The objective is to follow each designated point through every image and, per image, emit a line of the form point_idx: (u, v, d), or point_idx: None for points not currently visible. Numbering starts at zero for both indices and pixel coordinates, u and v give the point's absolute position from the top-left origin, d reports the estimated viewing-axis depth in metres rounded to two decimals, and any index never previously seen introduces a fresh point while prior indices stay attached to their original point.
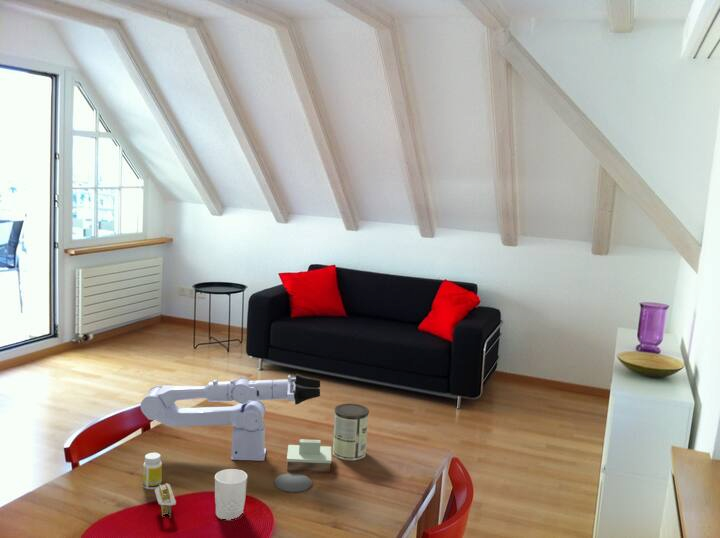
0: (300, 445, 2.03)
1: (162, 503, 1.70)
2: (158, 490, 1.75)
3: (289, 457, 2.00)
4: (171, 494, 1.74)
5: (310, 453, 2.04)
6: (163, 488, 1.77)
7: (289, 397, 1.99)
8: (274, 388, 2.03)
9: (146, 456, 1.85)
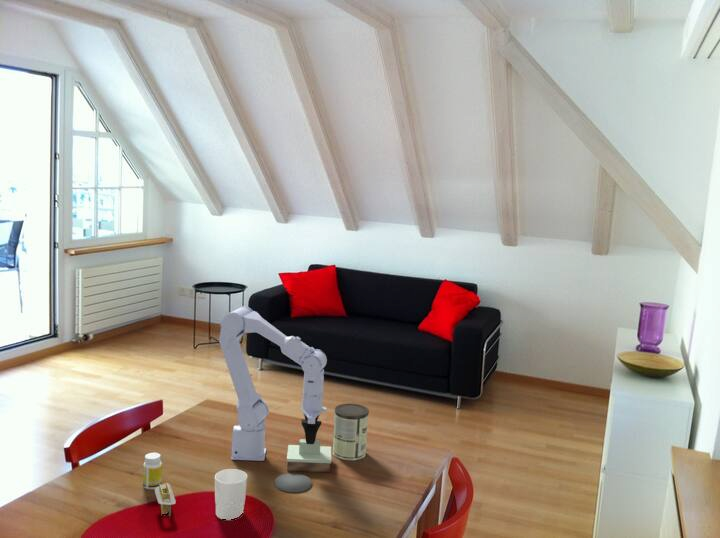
0: (300, 445, 2.03)
1: (162, 502, 1.70)
2: (158, 489, 1.76)
3: (289, 457, 2.00)
4: (171, 493, 1.74)
5: (310, 453, 2.04)
6: (163, 487, 1.77)
7: (312, 419, 1.95)
8: (317, 398, 1.99)
9: (146, 456, 1.85)
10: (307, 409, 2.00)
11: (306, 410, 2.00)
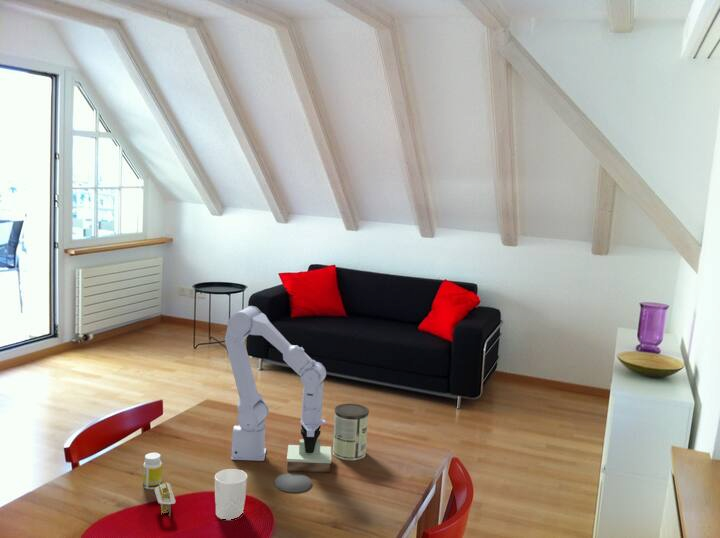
0: (300, 445, 2.03)
1: (162, 502, 1.70)
2: (158, 489, 1.76)
3: (289, 457, 2.00)
4: (171, 493, 1.74)
5: (310, 453, 2.04)
6: (163, 487, 1.77)
7: (311, 432, 1.96)
8: (316, 411, 2.00)
9: (146, 456, 1.85)
10: (306, 422, 2.00)
11: (305, 423, 2.01)
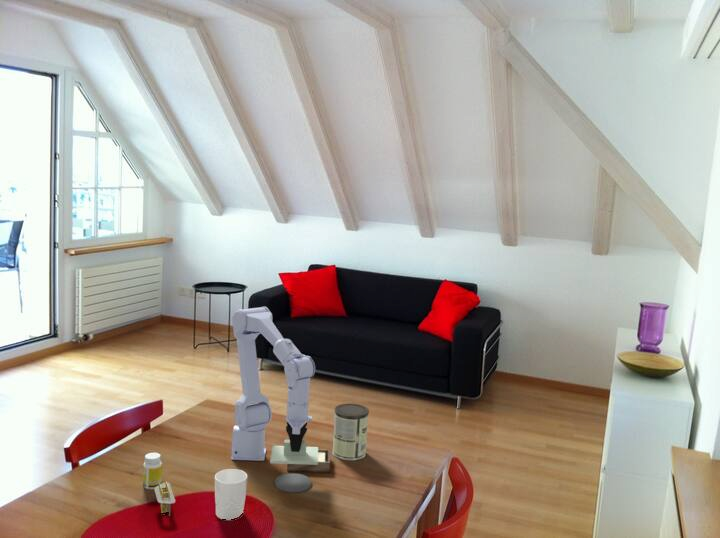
0: (285, 446, 1.90)
1: (161, 501, 1.71)
2: (158, 488, 1.76)
3: (273, 459, 1.88)
4: (170, 492, 1.75)
5: (296, 454, 1.91)
6: (163, 486, 1.77)
7: (296, 429, 1.83)
8: (302, 406, 1.87)
9: (146, 456, 1.85)
10: (292, 418, 1.88)
11: (291, 419, 1.88)
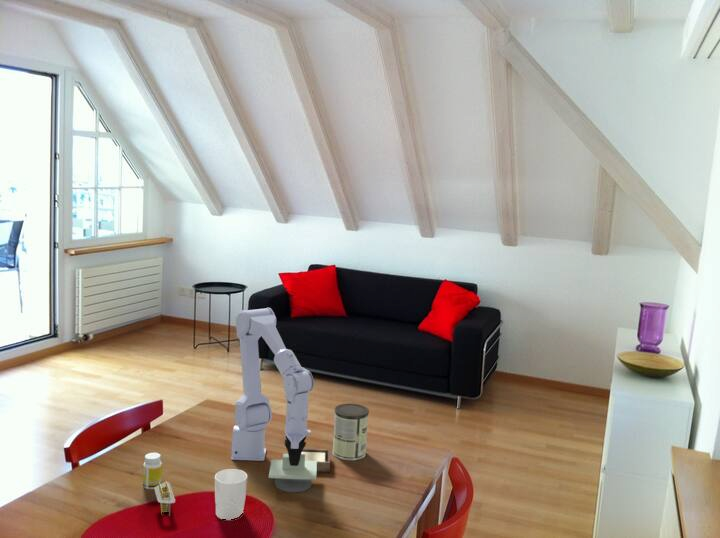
0: (283, 460, 1.91)
1: (161, 501, 1.71)
2: (158, 488, 1.76)
3: (271, 473, 1.88)
4: (170, 492, 1.75)
5: (294, 468, 1.91)
6: (163, 486, 1.78)
7: (295, 443, 1.84)
8: (301, 421, 1.88)
9: (146, 456, 1.85)
10: (290, 432, 1.88)
11: (289, 433, 1.88)
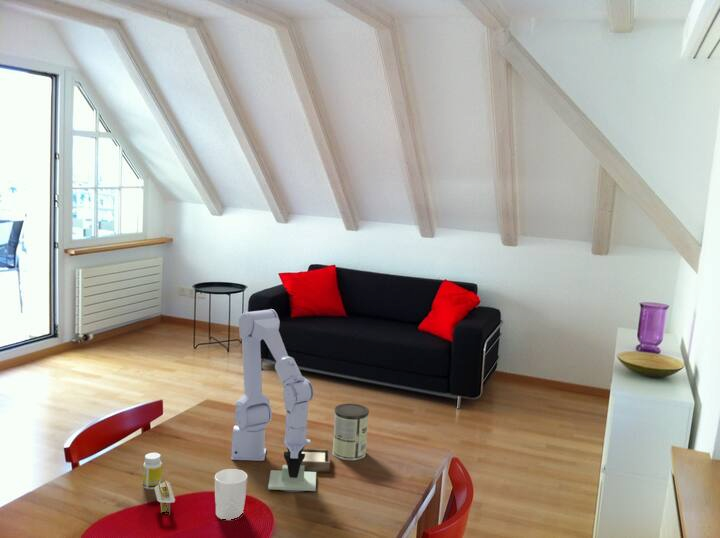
0: (283, 471, 1.91)
1: (161, 501, 1.71)
2: (158, 488, 1.77)
3: (271, 485, 1.89)
4: (170, 492, 1.75)
5: (294, 479, 1.92)
6: (163, 486, 1.78)
7: (294, 453, 1.84)
8: (300, 430, 1.88)
9: (146, 456, 1.85)
10: (290, 442, 1.89)
11: (289, 443, 1.89)
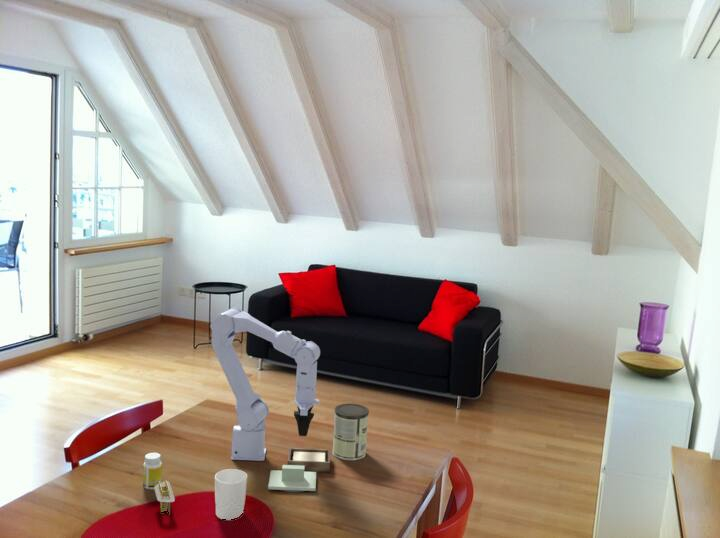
0: (283, 471, 1.91)
1: (161, 500, 1.71)
2: (157, 487, 1.77)
3: (271, 485, 1.89)
4: (170, 491, 1.75)
5: (294, 479, 1.92)
6: (162, 485, 1.78)
7: (304, 411, 1.95)
8: (309, 390, 1.99)
9: (146, 456, 1.85)
10: (300, 401, 2.00)
11: (299, 402, 2.00)
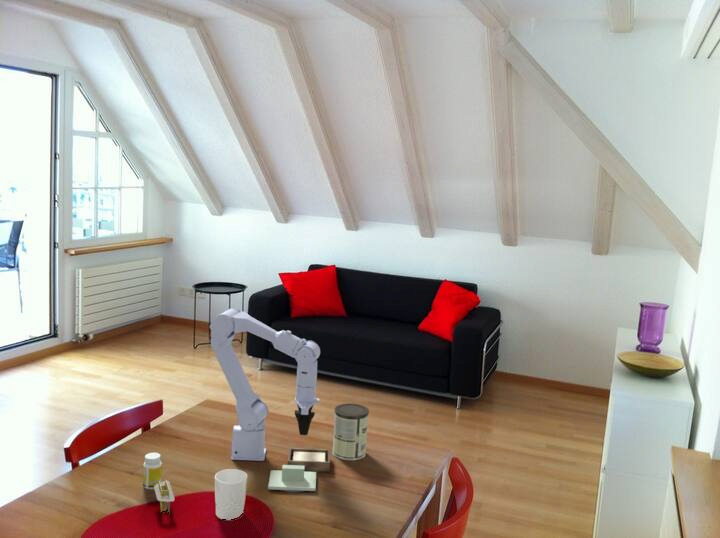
0: (283, 471, 1.91)
1: (161, 499, 1.71)
2: (157, 487, 1.77)
3: (271, 485, 1.89)
4: (170, 491, 1.75)
5: (294, 479, 1.92)
6: (162, 485, 1.78)
7: (305, 410, 1.96)
8: (310, 389, 2.00)
9: (146, 456, 1.85)
10: (300, 400, 2.00)
11: (299, 401, 2.00)
